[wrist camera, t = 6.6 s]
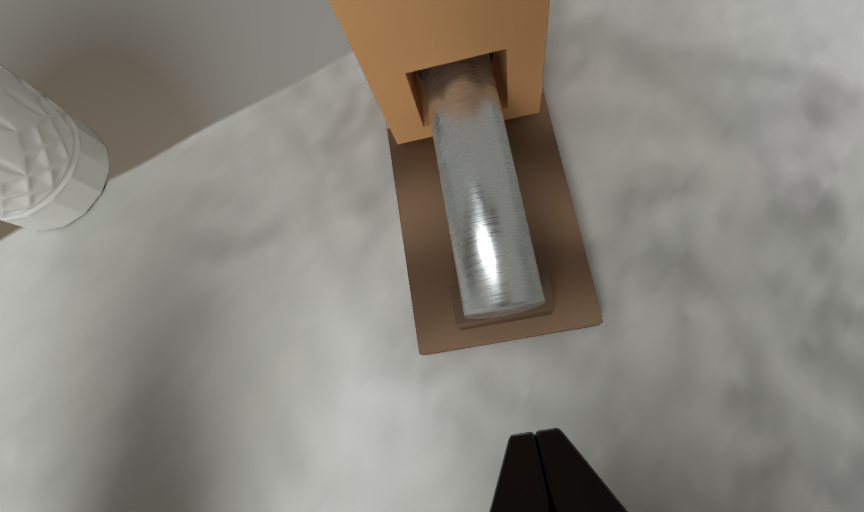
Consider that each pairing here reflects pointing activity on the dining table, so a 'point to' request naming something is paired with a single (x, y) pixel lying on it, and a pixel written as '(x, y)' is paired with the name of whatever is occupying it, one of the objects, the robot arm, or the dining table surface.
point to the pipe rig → (487, 219)
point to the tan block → (445, 51)
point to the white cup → (45, 159)
